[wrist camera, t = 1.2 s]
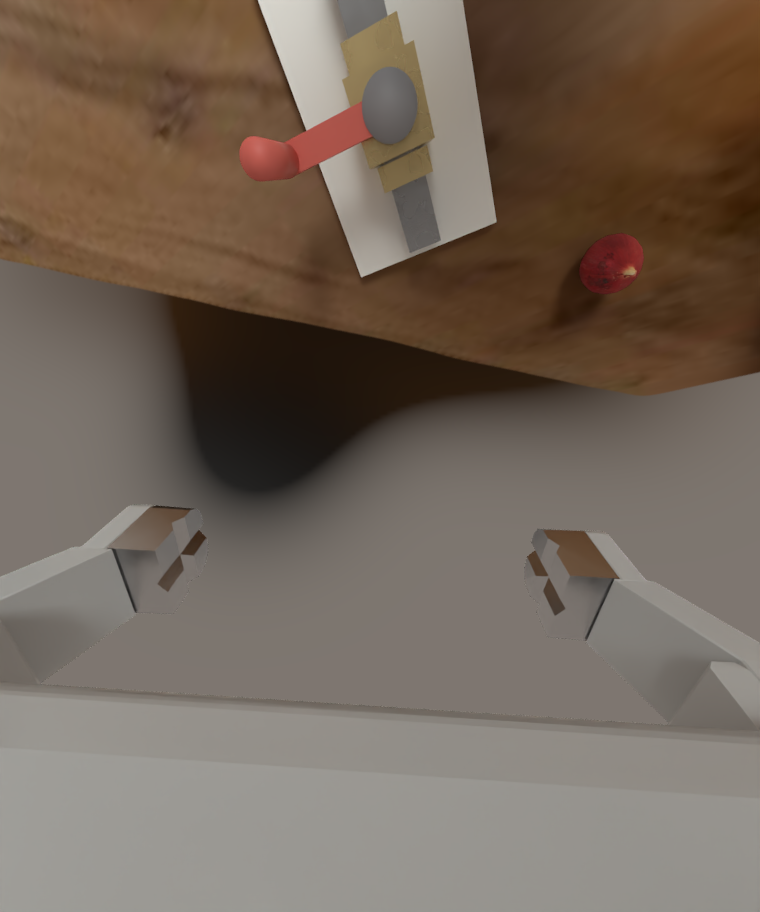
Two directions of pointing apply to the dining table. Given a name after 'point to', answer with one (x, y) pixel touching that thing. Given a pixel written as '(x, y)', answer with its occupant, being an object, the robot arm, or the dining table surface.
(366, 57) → the valve and pipe
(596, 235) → the dining table surface
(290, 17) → the mounting board
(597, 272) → the onion
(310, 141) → the lever
